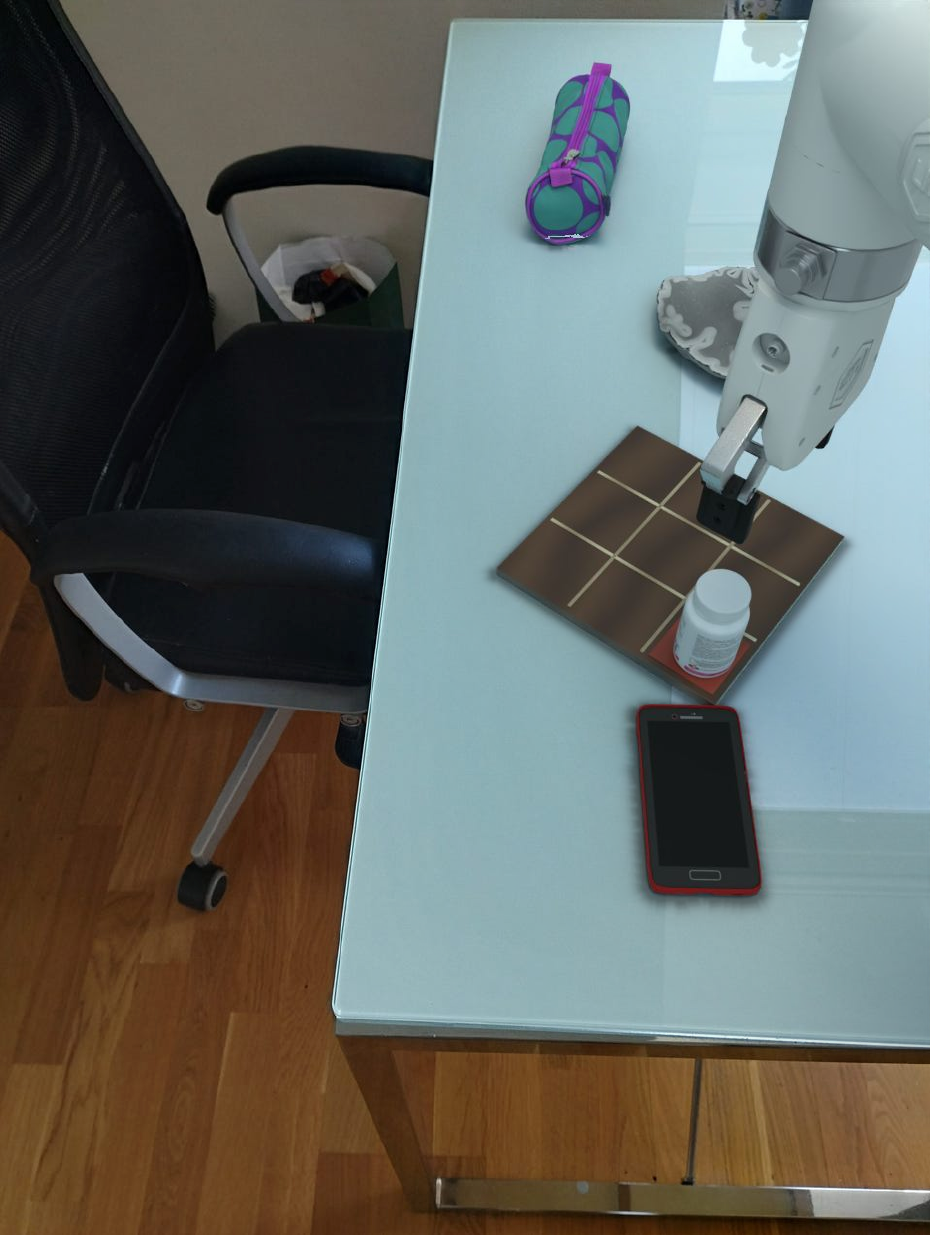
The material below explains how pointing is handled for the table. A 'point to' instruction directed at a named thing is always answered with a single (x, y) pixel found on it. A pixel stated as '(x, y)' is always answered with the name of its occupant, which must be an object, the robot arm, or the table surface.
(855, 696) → the table surface
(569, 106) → the pencil case
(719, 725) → the cell phone
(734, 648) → the pill bottle
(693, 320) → the brain slice
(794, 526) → the grid board
